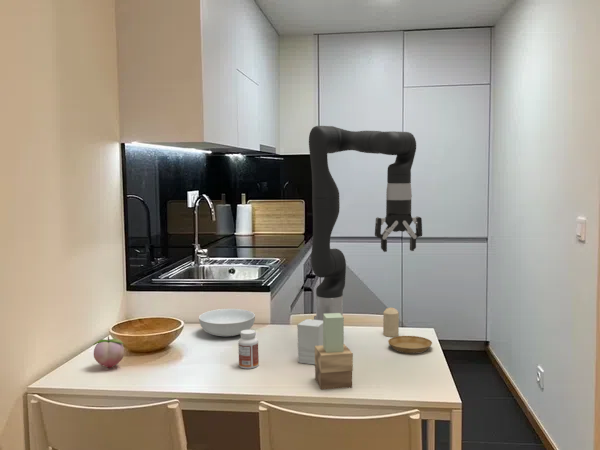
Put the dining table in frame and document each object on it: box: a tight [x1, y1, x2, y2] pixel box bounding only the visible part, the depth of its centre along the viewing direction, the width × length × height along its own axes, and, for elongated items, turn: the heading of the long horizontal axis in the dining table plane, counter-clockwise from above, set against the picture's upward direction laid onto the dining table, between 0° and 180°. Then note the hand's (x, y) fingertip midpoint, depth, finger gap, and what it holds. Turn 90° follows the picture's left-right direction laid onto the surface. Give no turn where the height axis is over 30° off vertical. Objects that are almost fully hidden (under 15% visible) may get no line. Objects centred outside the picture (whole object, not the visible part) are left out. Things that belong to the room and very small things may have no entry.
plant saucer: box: [387, 335, 433, 354], centre depth 207 cm, size 15×15×3 cm
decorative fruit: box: [93, 336, 125, 369], centre depth 190 cm, size 9×8×10 cm
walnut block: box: [314, 364, 353, 390], centre depth 176 cm, size 9×9×5 cm
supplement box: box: [296, 318, 323, 366], centre depth 195 cm, size 7×7×13 cm
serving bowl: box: [198, 308, 256, 337], centre depth 226 cm, size 21×21×7 cm
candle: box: [382, 307, 400, 338], centre depth 222 cm, size 6×6×10 cm
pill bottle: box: [237, 329, 260, 370], centre depth 190 cm, size 6×6×11 cm
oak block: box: [315, 343, 354, 373], centre depth 175 cm, size 9×9×5 cm
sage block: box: [323, 313, 345, 353], centre depth 174 cm, size 5×5×10 cm
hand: (398, 251), depth 186 cm, fingers open, 8 cm apart
